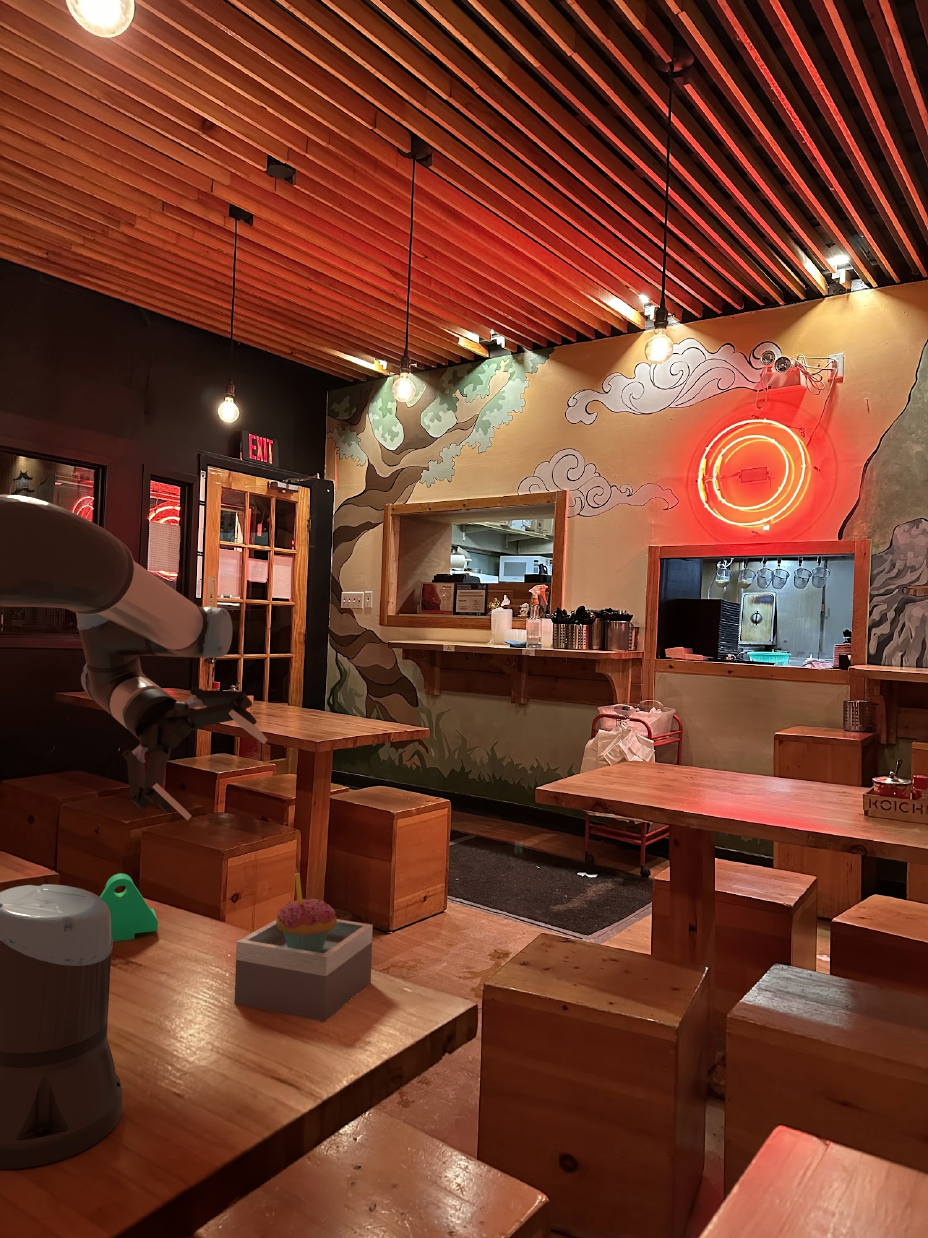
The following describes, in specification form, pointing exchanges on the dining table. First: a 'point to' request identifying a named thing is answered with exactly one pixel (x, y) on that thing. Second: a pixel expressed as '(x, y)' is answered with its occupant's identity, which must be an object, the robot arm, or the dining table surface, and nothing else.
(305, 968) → the collar
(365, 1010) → the dining table surface
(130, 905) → the camera mount
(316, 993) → the gray open box
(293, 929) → the cupcake
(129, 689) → the robot arm
